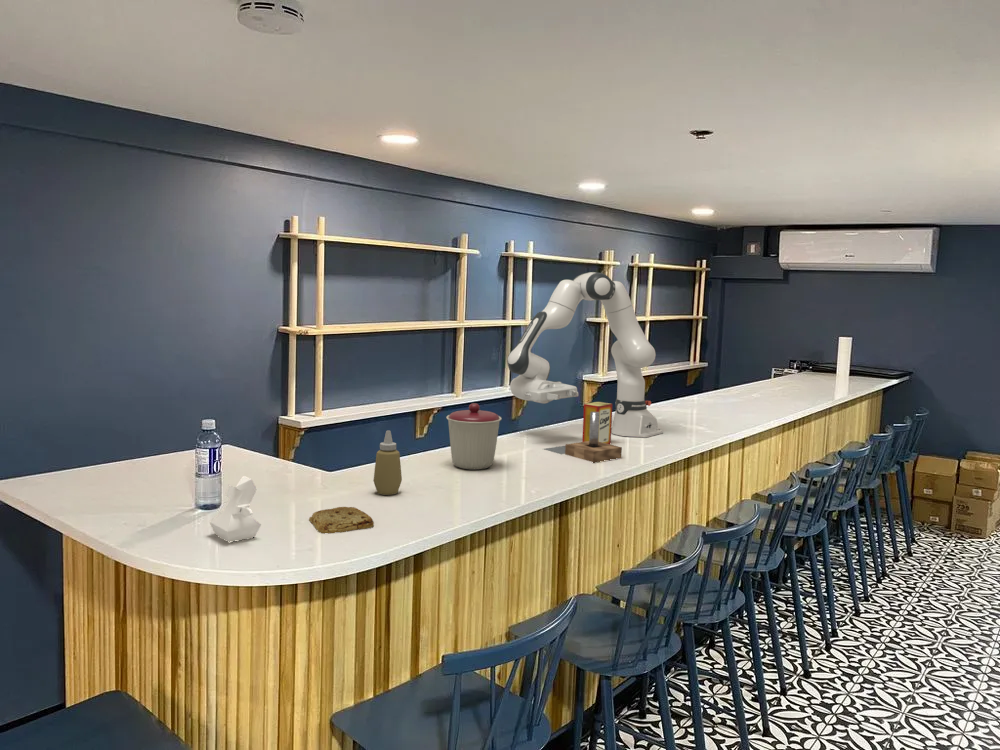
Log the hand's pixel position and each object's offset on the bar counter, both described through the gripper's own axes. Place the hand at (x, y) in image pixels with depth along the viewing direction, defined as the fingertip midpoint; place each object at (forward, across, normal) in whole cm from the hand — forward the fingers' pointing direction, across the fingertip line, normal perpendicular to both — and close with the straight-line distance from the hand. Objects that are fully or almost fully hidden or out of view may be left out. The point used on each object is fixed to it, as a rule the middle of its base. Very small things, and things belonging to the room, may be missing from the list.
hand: (567, 395), depth 291 cm
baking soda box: (0, +15, +20) cm, 25 cm away
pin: (+15, -2, +20) cm, 25 cm away
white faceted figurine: (+30, -136, +15) cm, 140 cm away
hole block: (+15, -2, +20) cm, 25 cm away
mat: (+2, -4, +20) cm, 20 cm away
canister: (+4, -47, +18) cm, 51 cm away
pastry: (+34, -111, +17) cm, 118 cm away
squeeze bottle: (+17, -87, +17) cm, 90 cm away
